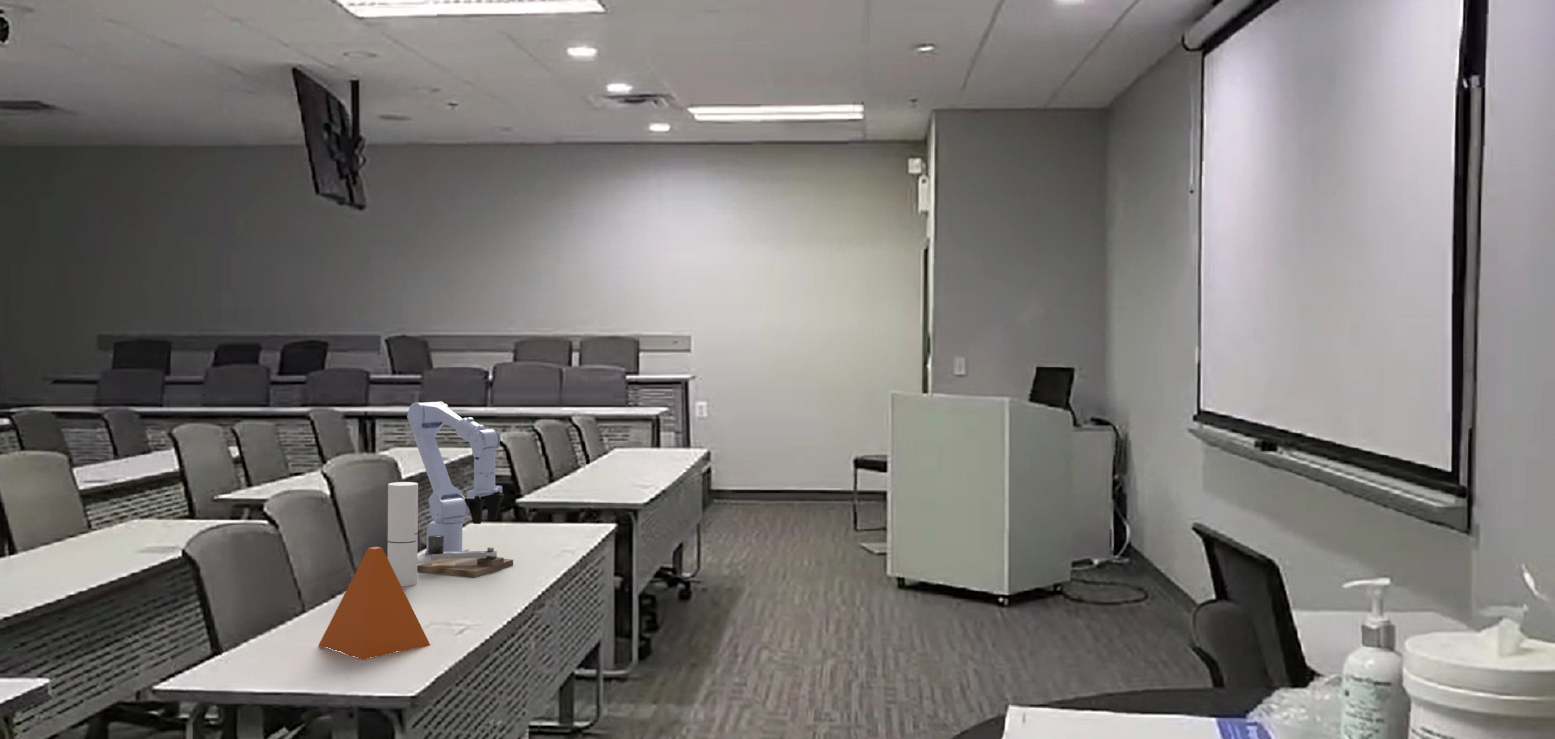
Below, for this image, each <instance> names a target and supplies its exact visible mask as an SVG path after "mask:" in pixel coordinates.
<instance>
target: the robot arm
mask: <svg viewBox="0 0 1555 739" xmlns="http://www.w3.org/2000/svg"><path fill="white" fill-rule="evenodd" d="M406 418H407V420H408V423H409V426H410V429H411V431H412V434H413V438H414V442H415V444H416V447H417V449H418V452H419V455H420V457H421V460H422V464H423V466H424V469H425V471H426V474H427V477H428V480H429V483H430V485H431V489H432V491H433V492H432V493H431V495H430V496H429V498H428V500H427V501H428V503H429V504H428V505H429V513H430V514H429V515H430V516H431V519H432V520H431V521H430V522H429V523H428V525H427V528H426V550H425V551H424V553H425V554H429V553H428V536H430V535H443V536H444V552H462V551H469V549H468V548H463V522H464V521H465V520H466V519H465V518H466V517H468V514H469V513H470V516H471V521H472V523H473V524H474V525H481V524H482V518H483V511H484V506H485V503H486V509H487V519H488V520H489V521H496V520H497V519H498V514H499V511H500V510H499V509H500V507H501V504H502V502H503V500H504V499H505V494H504V493H503V485H496V449H498V447H499V446H500V442H501V437H500V434H499V432H498V431H497V430H496V429H495V428H491V427H490V428H486V427H485V426H484V424H479V423H478V422H476V421H475V420H474V418H473V417H472V416H471V417H463V418H462V417H461V416H459V415H458V414H457V413H455V412H454V411H453V410H451V409H450V408H449V405H448V404H447V403H444V402H443V401H441V400H439V401H428V402H416V401H415V402H412V403H411V404H410V406H409V408H408V411H407V416H406ZM444 424H445V425H447V426H448V427H451V428H453V429H454V430H455V434H456V435H457V436H458V437H460V438H461V439H463V440H465V441H466V442H468V443H469V446H470V448H471V452H472V453H471V454H472V457H474V458H473V459H474V460H473V482H474V483H473V484H474V485H473V489H471V490H467V491H466V497H465V495H463V493H462V491H461V490H460V489H459V488H457V487H456V486H454V485H453V484H452V481H451V478H450V476H449V473H448V472H449V471H448V470H447V467H446V464H445V462H444V459H443V456H442V454H441V451H440V449H439V448H440V447H439V446H438V443H437V440H436V435H437V434H438V433H439V432H440V430H441V429H442V427H443V425H444ZM481 497H483V498H484V499H483V498H481Z"/></svg>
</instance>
